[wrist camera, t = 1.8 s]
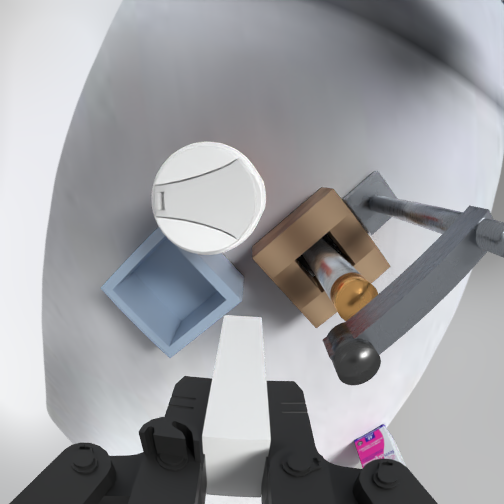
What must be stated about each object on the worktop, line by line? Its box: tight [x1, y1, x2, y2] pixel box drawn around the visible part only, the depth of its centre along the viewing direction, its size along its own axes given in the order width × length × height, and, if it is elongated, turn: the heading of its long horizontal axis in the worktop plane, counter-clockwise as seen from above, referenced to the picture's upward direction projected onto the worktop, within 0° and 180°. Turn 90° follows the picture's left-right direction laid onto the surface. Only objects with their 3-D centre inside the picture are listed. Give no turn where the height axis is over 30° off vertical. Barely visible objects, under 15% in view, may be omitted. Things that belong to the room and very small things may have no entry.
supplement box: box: [354, 424, 406, 467], centre depth 36 cm, size 6×6×12 cm
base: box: [343, 171, 397, 235], centre depth 32 cm, size 5×5×1 cm
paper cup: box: [151, 142, 266, 255], centre depth 26 cm, size 8×8×14 cm
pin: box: [303, 239, 378, 321], centre depth 27 cm, size 3×3×15 cm
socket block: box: [252, 187, 390, 328], centre depth 32 cm, size 10×10×5 cm
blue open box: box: [101, 227, 244, 358], centre depth 31 cm, size 10×10×7 cm
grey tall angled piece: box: [323, 195, 504, 385], centre depth 22 cm, size 13×2×20 cm, turn 131°
